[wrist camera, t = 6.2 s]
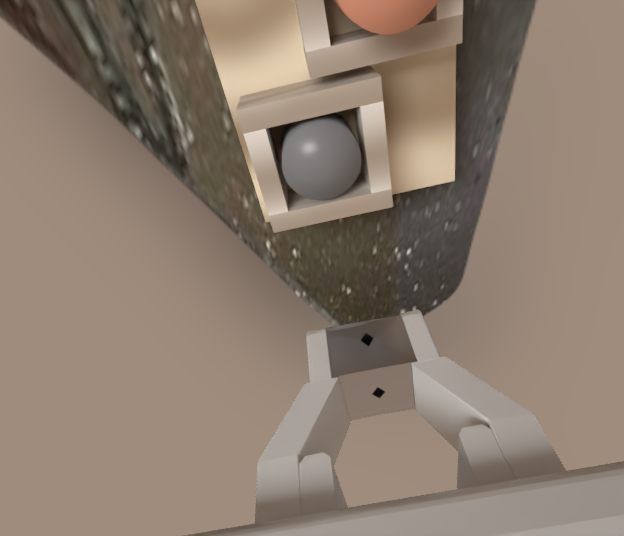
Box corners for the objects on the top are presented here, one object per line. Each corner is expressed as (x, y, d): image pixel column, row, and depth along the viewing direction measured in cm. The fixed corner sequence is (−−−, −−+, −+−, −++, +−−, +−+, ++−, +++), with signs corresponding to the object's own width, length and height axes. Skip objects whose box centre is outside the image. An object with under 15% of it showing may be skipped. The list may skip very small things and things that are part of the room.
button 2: (273, 117, 23) (272, 133, 21) (347, 99, 23) (355, 114, 21) (290, 185, 26) (292, 207, 23) (357, 170, 26) (366, 191, 23)
